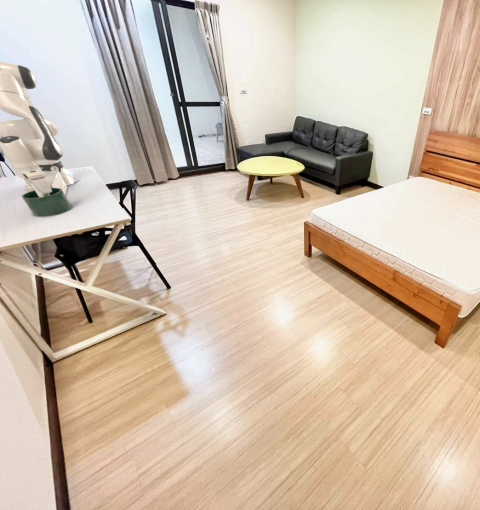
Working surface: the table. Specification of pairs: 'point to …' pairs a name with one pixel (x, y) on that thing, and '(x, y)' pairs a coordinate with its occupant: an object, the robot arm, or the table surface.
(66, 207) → the pot
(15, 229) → the table surface
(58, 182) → the cream long block
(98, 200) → the table surface
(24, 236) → the table surface
